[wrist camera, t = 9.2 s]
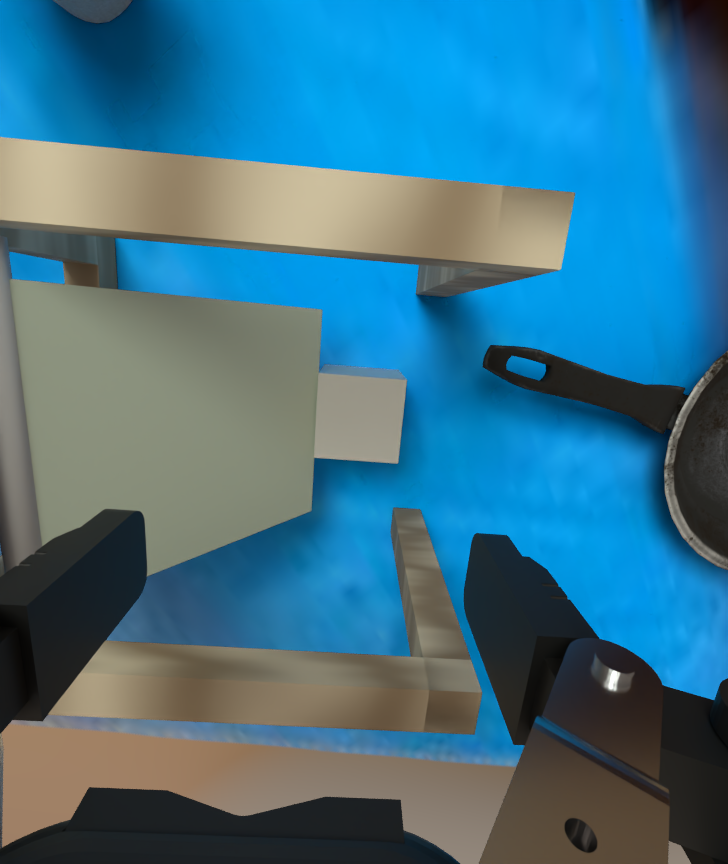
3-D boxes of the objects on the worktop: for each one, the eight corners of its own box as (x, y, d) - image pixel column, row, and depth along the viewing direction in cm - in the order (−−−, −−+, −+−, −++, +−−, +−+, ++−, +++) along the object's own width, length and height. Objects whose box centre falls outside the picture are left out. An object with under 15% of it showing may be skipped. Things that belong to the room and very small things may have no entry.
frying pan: (810, 579, 34) (864, 610, 30) (427, 478, 31) (436, 499, 28) (955, 346, 29) (1039, 350, 26) (521, 203, 27) (547, 185, 23)
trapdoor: (-175, 658, 15) (-171, 754, 12) (-306, 203, 11) (-347, 178, 8) (265, 505, 29) (317, 532, 26) (270, 285, 26) (331, 286, 23)
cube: (313, 457, 25) (397, 463, 25) (318, 373, 24) (407, 380, 24) (320, 435, 30) (391, 440, 30) (324, 363, 29) (398, 369, 29)
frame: (104, 513, 31) (-145, 706, 16) (81, 231, 26) (-310, 107, 11) (417, 533, 32) (474, 734, 17) (450, 264, 27) (575, 192, 12)
